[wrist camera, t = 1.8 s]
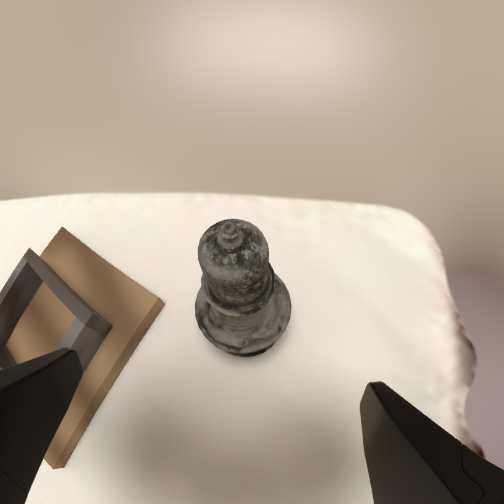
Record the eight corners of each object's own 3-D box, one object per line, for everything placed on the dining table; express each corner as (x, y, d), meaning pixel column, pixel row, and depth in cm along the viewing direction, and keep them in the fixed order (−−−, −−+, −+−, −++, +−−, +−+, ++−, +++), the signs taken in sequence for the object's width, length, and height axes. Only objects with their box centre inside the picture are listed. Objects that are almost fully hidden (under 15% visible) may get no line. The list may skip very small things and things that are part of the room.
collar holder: (63, 467, 13) (29, 472, 9) (-11, 365, 17) (-40, 353, 13) (164, 304, 20) (143, 280, 17) (69, 234, 24) (47, 208, 20)
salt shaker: (228, 375, 18) (181, 342, 7) (192, 305, 20) (128, 202, 10) (301, 335, 19) (351, 252, 9) (260, 271, 22) (260, 147, 11)
